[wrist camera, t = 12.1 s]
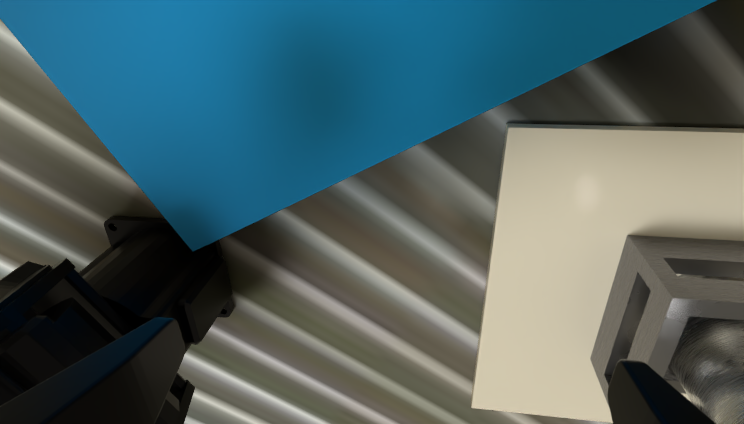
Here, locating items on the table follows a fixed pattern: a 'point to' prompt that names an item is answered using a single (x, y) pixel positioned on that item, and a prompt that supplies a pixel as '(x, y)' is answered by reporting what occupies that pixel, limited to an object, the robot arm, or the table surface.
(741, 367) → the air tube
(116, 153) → the book
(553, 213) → the tile
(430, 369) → the table surface
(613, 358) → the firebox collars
